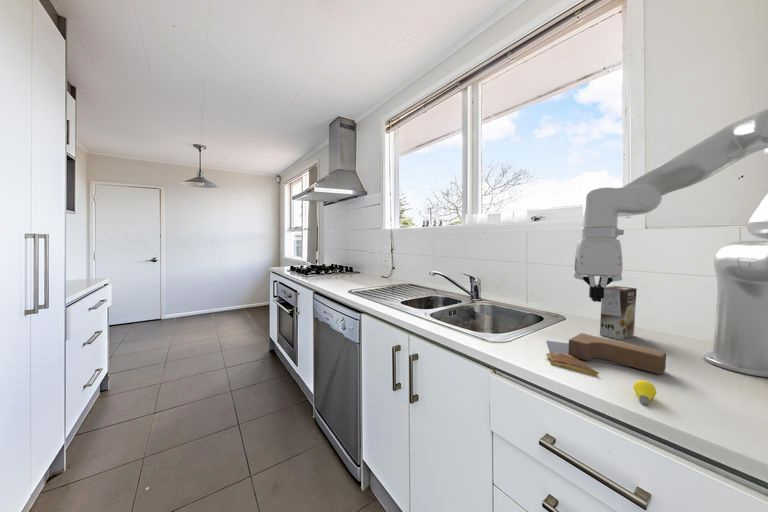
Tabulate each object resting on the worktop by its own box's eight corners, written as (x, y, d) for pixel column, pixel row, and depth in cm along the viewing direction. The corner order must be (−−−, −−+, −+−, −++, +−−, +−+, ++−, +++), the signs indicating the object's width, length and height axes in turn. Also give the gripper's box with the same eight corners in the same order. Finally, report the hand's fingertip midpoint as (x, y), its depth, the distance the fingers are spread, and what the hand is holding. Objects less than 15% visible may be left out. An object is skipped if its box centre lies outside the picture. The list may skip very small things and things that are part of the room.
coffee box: (622, 340, 90) (624, 290, 89) (599, 334, 96) (601, 287, 95) (634, 335, 95) (637, 288, 94) (611, 330, 100) (613, 285, 100)
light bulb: (651, 394, 59) (659, 382, 58) (651, 414, 55) (659, 403, 54) (631, 384, 61) (638, 373, 60) (629, 404, 57) (637, 392, 55)
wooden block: (567, 355, 78) (657, 381, 64) (568, 339, 78) (659, 361, 63) (580, 347, 83) (665, 370, 69) (580, 332, 83) (666, 352, 69)
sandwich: (599, 379, 67) (599, 371, 67) (565, 378, 67) (566, 371, 67) (570, 359, 78) (570, 353, 77) (541, 359, 78) (542, 352, 78)
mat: (645, 354, 80) (645, 353, 80) (664, 371, 70) (664, 369, 70) (546, 341, 89) (546, 340, 89) (550, 354, 79) (550, 353, 79)
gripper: (628, 234, 78) (625, 300, 79) (564, 234, 84) (562, 296, 86) (639, 234, 71) (635, 306, 73) (569, 234, 78) (566, 301, 79)
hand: (596, 300), depth 79 cm, fingers closed
